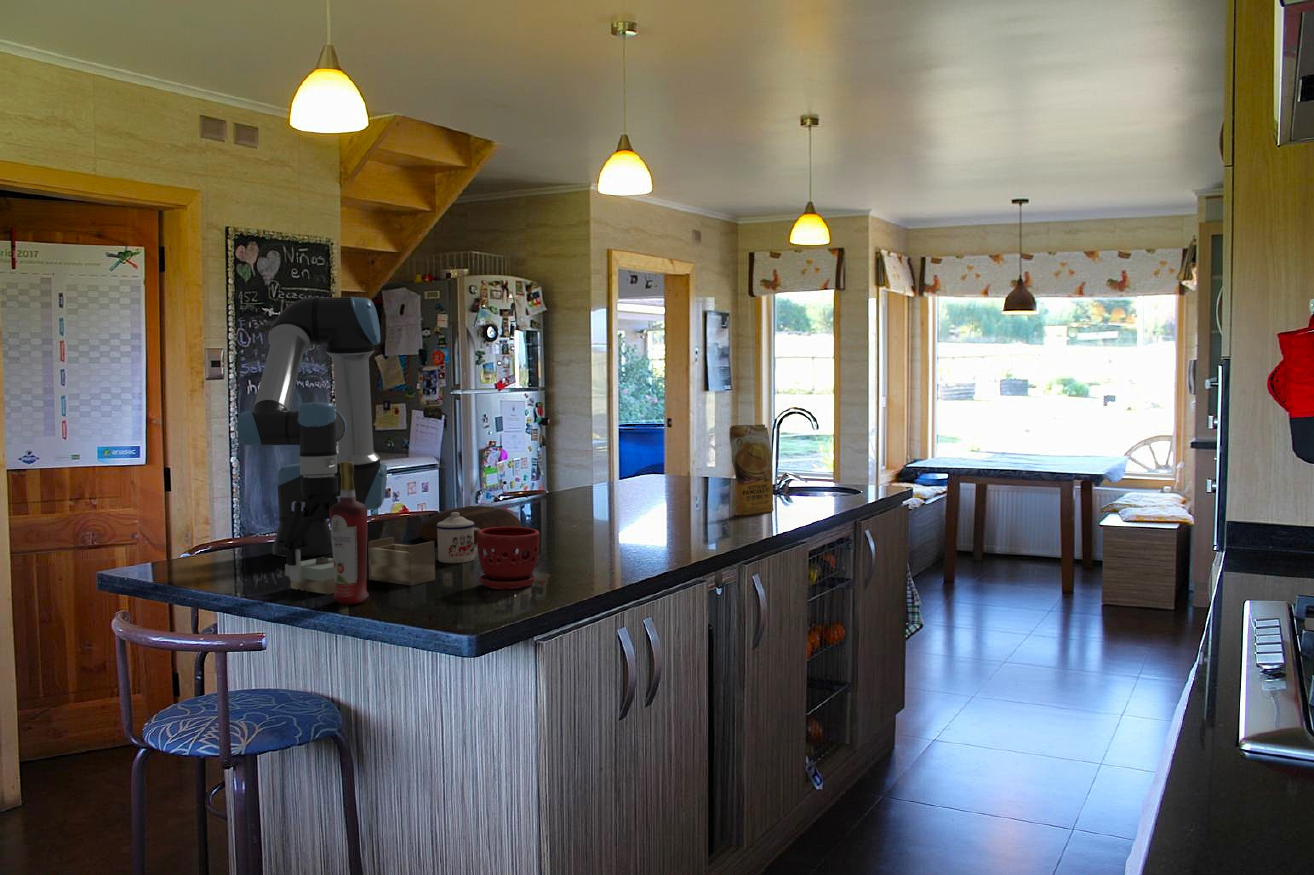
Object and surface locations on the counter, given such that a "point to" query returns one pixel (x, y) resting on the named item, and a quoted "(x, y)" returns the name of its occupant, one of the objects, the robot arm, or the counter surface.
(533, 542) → the plant pot
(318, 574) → the lid
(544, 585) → the counter surface
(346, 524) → the liquor
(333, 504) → the robot arm
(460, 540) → the teacup with lid
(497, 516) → the bread
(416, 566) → the wooden box
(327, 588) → the stand
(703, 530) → the counter surface
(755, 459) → the pancake mix bag
